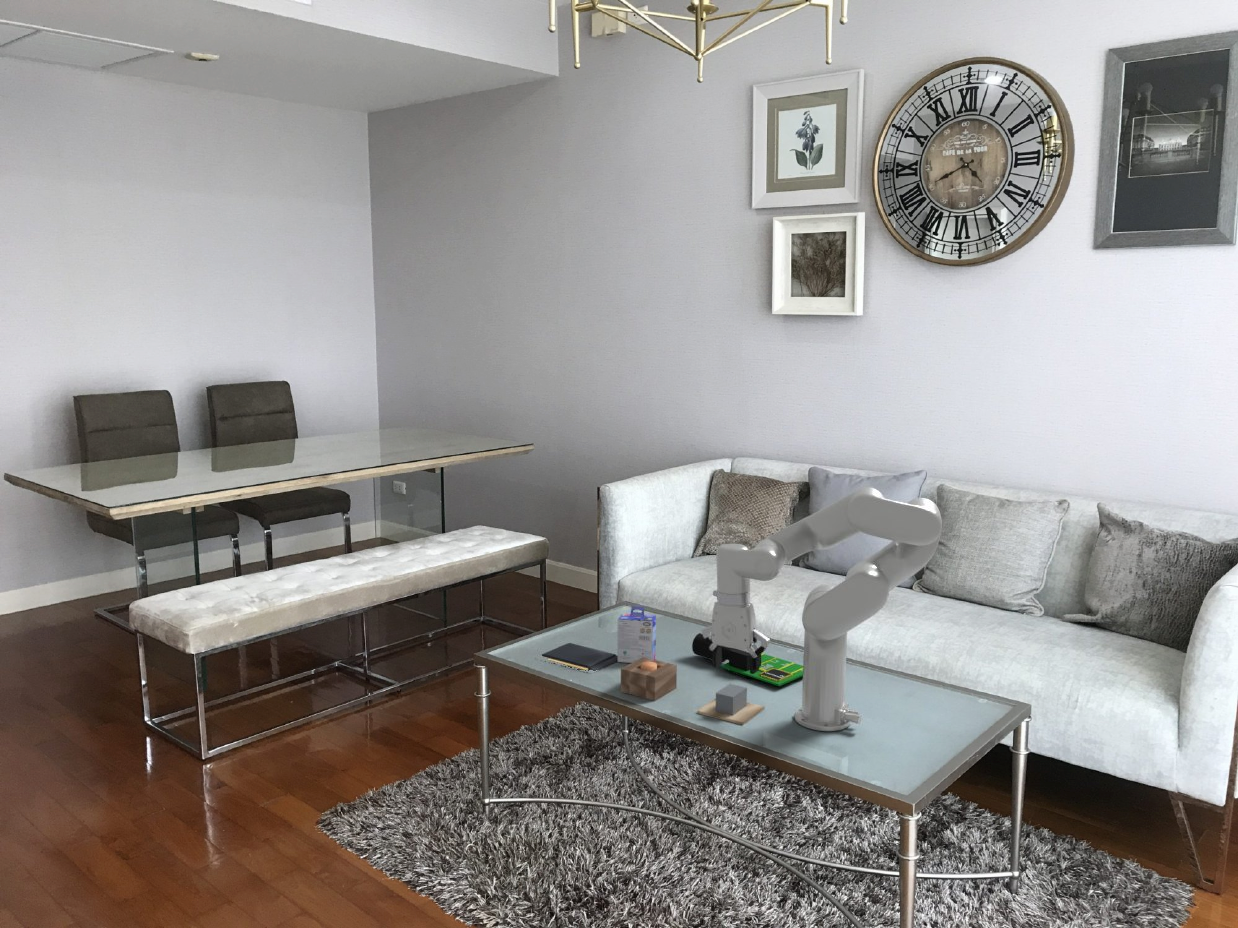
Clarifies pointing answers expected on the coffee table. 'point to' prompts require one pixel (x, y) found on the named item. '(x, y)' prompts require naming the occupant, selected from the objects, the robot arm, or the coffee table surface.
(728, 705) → the gray rectangular block
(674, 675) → the walnut housing
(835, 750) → the coffee table surface
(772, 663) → the circuit board with cylinder
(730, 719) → the oak board
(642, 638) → the ink cartridge box
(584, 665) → the wallet
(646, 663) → the orange ball
